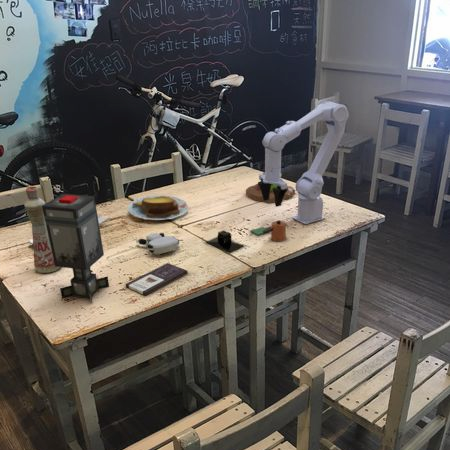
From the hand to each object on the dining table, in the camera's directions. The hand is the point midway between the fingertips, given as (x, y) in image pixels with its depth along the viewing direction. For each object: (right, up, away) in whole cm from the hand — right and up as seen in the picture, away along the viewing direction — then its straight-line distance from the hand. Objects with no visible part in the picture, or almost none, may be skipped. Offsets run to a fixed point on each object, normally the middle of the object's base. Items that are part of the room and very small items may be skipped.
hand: (272, 202), depth 191 cm
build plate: (-18, -17, -9) cm, 26 cm away
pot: (0, -15, -6) cm, 16 cm away
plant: (+2, +10, +36) cm, 37 cm away
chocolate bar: (-39, -30, -30) cm, 58 cm away
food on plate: (-45, 0, +21) cm, 50 cm away
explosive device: (-60, -34, -36) cm, 78 cm away
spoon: (-77, -12, +3) cm, 78 cm away
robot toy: (-41, -18, -10) cm, 46 cm away
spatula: (-1, -10, +2) cm, 10 cm away
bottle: (-76, -26, -21) cm, 83 cm away
